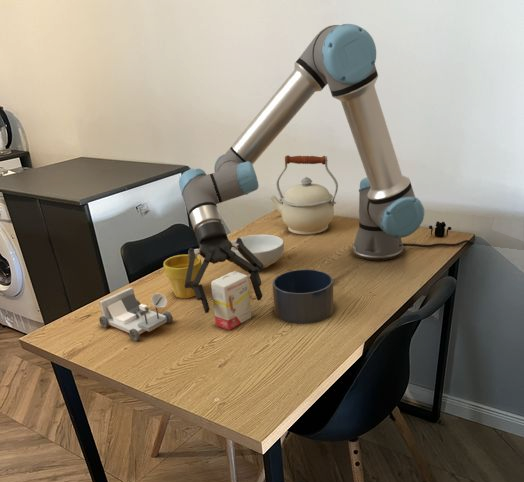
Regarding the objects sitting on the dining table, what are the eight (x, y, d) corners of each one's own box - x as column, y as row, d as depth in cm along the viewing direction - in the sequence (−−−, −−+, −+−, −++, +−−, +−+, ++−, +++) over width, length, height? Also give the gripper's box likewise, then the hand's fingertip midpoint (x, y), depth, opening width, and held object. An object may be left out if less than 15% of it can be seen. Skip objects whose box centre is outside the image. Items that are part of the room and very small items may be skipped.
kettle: (345, 222, 198) (345, 150, 185) (329, 239, 184) (328, 162, 171) (281, 218, 208) (277, 149, 195) (261, 234, 193) (255, 161, 181)
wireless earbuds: (427, 236, 179) (429, 221, 176) (429, 234, 181) (430, 219, 178) (450, 238, 176) (451, 223, 173) (451, 235, 178) (452, 220, 175)
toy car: (174, 290, 133) (137, 308, 126) (180, 325, 138) (145, 345, 131) (128, 275, 144) (91, 291, 136) (135, 308, 149) (100, 326, 141)
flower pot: (212, 288, 157) (207, 255, 152) (193, 303, 149) (188, 270, 144) (181, 284, 161) (176, 252, 156) (161, 298, 153) (155, 266, 148)
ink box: (229, 331, 134) (223, 286, 128) (215, 325, 137) (209, 282, 131) (252, 317, 139) (248, 274, 133) (238, 312, 142) (234, 270, 136)
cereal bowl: (286, 253, 175) (285, 232, 172) (283, 274, 161) (281, 251, 158) (234, 255, 177) (232, 234, 174) (226, 276, 163) (223, 253, 160)
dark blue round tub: (316, 292, 149) (316, 264, 145) (344, 314, 137) (344, 285, 133) (265, 305, 145) (263, 277, 140) (289, 328, 132) (287, 299, 128)
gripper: (251, 226, 145) (277, 298, 140) (159, 244, 138) (183, 321, 133) (257, 211, 138) (284, 287, 133) (160, 230, 131) (186, 310, 126)
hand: (234, 304), depth 133 cm, fingers open, 13 cm apart
